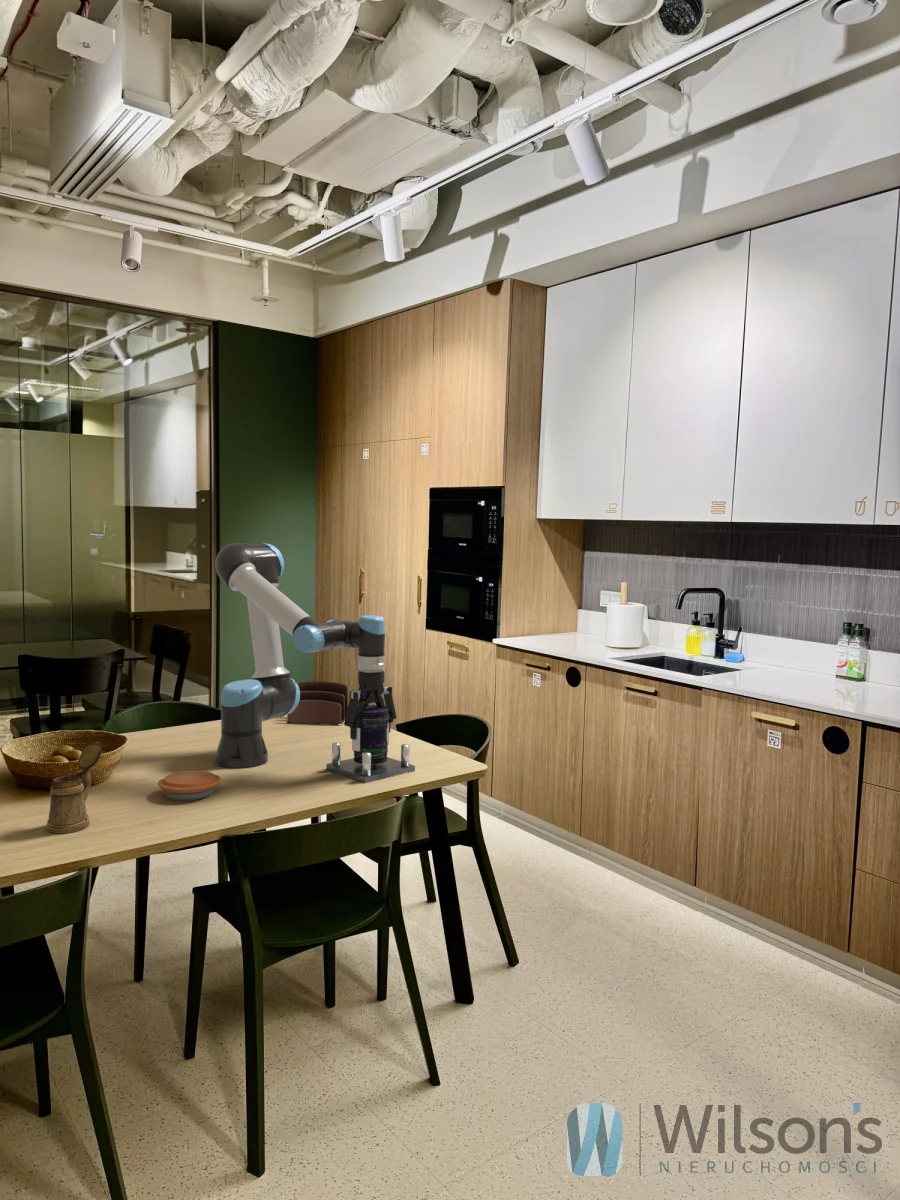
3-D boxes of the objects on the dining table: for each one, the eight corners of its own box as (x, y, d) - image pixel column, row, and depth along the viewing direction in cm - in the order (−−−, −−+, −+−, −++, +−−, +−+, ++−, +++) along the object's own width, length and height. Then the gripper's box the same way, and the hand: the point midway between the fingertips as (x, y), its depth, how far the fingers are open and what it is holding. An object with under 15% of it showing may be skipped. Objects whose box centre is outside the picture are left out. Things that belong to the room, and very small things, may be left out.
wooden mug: (113, 818, 200) (112, 743, 198) (64, 836, 188) (62, 756, 186) (87, 812, 204) (86, 738, 202) (37, 829, 192) (35, 751, 190)
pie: (233, 790, 223) (233, 771, 223) (193, 807, 209) (193, 787, 209) (186, 782, 229) (186, 764, 229) (144, 798, 215) (144, 779, 215)
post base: (365, 782, 231) (365, 755, 230) (326, 769, 244) (326, 743, 243) (414, 770, 243) (415, 745, 243) (375, 758, 256) (375, 733, 256)
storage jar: (348, 757, 246) (349, 706, 245) (380, 754, 250) (381, 704, 249) (359, 766, 237) (360, 713, 236) (392, 762, 241) (393, 710, 240)
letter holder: (295, 717, 312) (295, 679, 310) (348, 720, 309) (348, 681, 308) (286, 723, 302) (286, 684, 301) (341, 726, 299) (341, 686, 298)
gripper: (347, 676, 231) (346, 756, 233) (409, 667, 246) (408, 743, 248) (331, 672, 236) (330, 751, 238) (393, 664, 252) (392, 738, 254)
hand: (370, 747), depth 243 cm, fingers closed on storage jar, 10 cm apart
